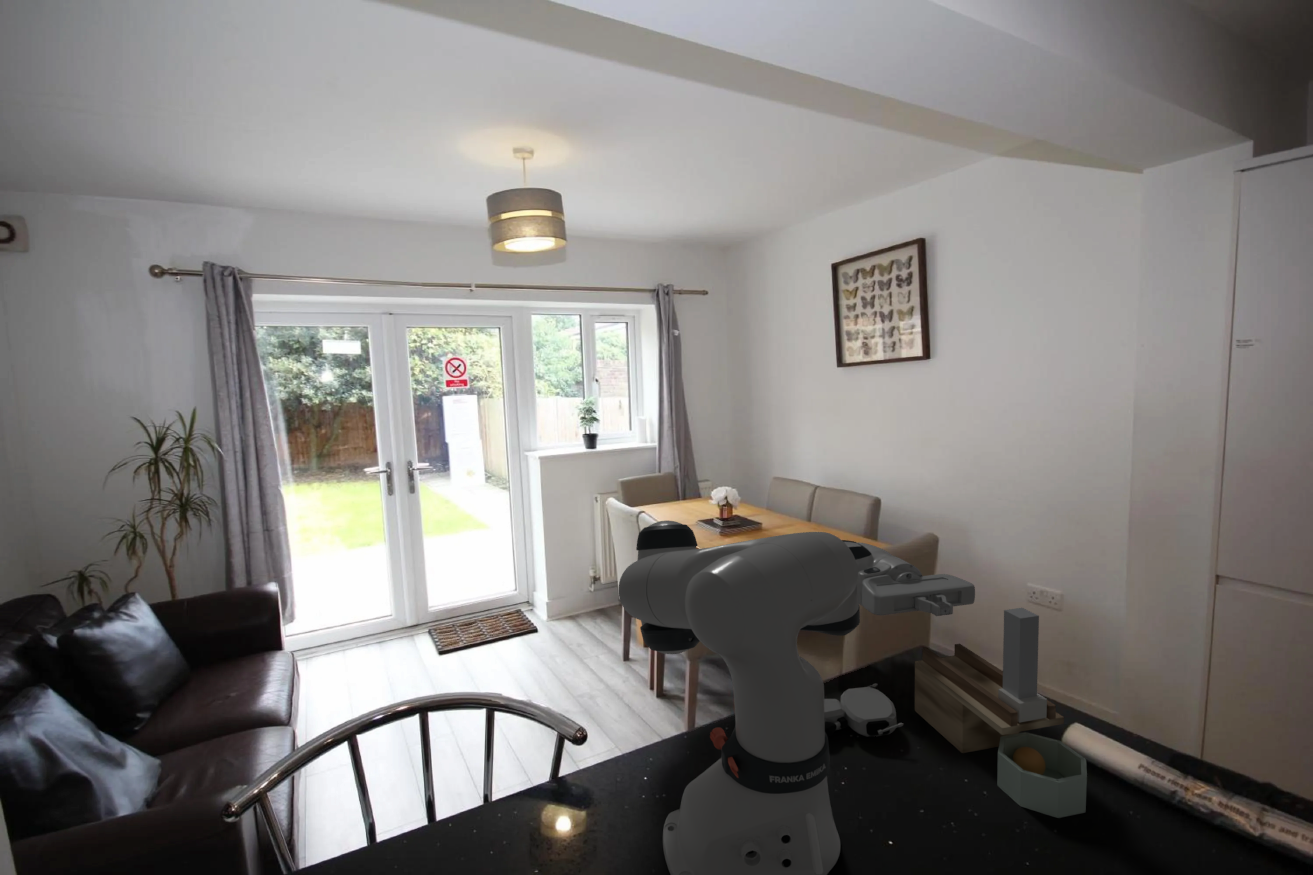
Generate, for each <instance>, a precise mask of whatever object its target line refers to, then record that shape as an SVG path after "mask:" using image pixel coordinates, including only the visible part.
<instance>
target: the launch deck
mask: <svg viewBox="0 0 1313 875" xmlns="http://www.w3.org/2000/svg"><path fill="white" fill-rule="evenodd" d="M921 650H922V654H921V657H922V658H921V660H915V661H914V712H915V713H917V714H918V716H920V717H921V718H922V719H924V720H925V722H927V723H928V724H929V725H930V726H931V727H933V728H934V729H935V731H937V732H938V733H939V734H940V735H942V736H943V738H944V739H945V740H947V741H948V742H949V743H950V744H951V745H953V747H954V748H956V749H957V750H958V751H959V752H960V753H961V754H966V753H971V752H977V751H982V750H988V749H993V748H999V743H1000V738H1001V737H1002V736H1007V735H1013V734H1018V733H1022V732H1026V731H1027V732H1028V731H1030V730H1037V729H1043V728H1048V727H1054V726H1059V725H1064V723H1065V717H1064V716H1063V715H1061V714H1060V713H1058V712H1057V711H1056V710H1057V709H1056V708H1057V705H1056V704H1054V703H1053V702H1051V701H1050V700H1048V699H1047V716H1046V718H1043V719H1037V720H1031V721H1026V722H1020V723H1019V722H1018V721H1017V716H1018V712H1017V711H1015V710H1014V709H1013V708H1011V707H1010V706H1008V705H1007V704H1006V703H1004V702H1003V701H1001V700H1000V699H998V689H1002V688H1003V669H1000V668H998V667H997V666H995V665H994V664H992V663H991V662H989V661H987V660H986V659H984V657H982V656H980V655H978V654H977V653H975V652H974V651H972V650H971V649H969V648H968V647H966V646H964V645H963V644H961V643H956V644H954V655H948V656H941V657H940V656H939V655H938V654H937V653H935V652H933V651H932V650H931V649H929V648H922V649H921Z"/></svg>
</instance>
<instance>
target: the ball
mask: <svg viewBox="0 0 1313 875" xmlns="http://www.w3.org/2000/svg"><path fill="white" fill-rule="evenodd" d="M1013 762H1015V763H1016V764H1017V765H1018V766H1020V767H1021V768H1022V769H1023V770H1026V771H1029V772H1033V773H1036V774H1040V775H1043V774H1044V772H1045V769H1046V764H1045V761H1044V758H1043V757H1042V755H1041V754H1040V753H1039V752H1038V751H1037V750H1035V749H1033V748H1031V747H1020V748H1018V749H1017V750H1016V751H1015V752H1014V754H1013Z"/></svg>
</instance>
